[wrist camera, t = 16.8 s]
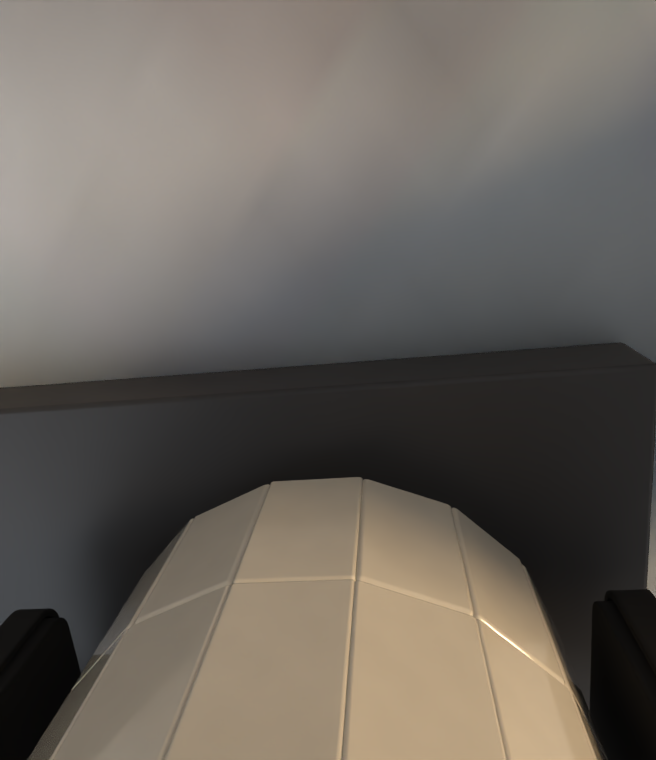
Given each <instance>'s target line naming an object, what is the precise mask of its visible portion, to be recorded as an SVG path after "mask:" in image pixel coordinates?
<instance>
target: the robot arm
mask: <svg viewBox="0 0 656 760" xmlns="http://www.w3.org/2000/svg"><path fill="white" fill-rule="evenodd" d="M80 675H81V671H80V667H79V663H78V659H77V655H76V652H75V648H74V644H73V640H72V636H71V632H70V629H69V625H68V622H67V621H66V619H65V618H61V617H59V615H58V613H57V612H56V611H55V610H54V609H50V608H48V609H19V610H16V611H14V612H13V613H12V614H11V615H9V617H8V618H7V619H6V620H5V621H4V622H3V623H2V625H1V626H0V760H28V758H29V756H30V755H31V753H32V752H33V750H34V748H35V747H36V745H37V744H38V742H39V740H40V739H41V737H42V736H43V734H44V732H45V731H46V729H47V728H48V726H49V724H50V723H51V721H52V720H53V718H54V716H55V715H56V713H57V712H58V710H59V708H60V707H61V705H62V704H63V702H64V700H65V699H66V697H67V696H68V694H69V693H70V692H71V690H72V688H73V686H74V684H75V683H76V681H77V680H78V678H79V676H80ZM589 711H590V714H591V716H592V719H593V721H594V724H595V726H596V729H597V731H598V734H599V736H600V739H601V742H602V744H603V747H604V749H605V752H606V754H607V757H608V759H609V760H656V598H655V597H654V595H653V594H652V593H651V592H650V591H649V590H647V589H636V590H608V591H607V592H606V594H605V597H604V601H595V602H594V603H593V607H592V635H591V673H590V710H589Z"/></svg>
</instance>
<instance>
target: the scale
mask: <svg viewBox="0 0 656 760" xmlns="http://www.w3.org/2000/svg"><path fill="white" fill-rule="evenodd" d="M655 426H656V364H655V363H654V362H652V361H651V360H649V359H647V358H646V357H644V356H643V355H641V354H640V353H638V352H636V351H635V350H633V349H632V348H630V347H629V346H627V345H626V344H623V343H611V344H597V345H583V346H570V347H556V348H542V349H529V350H515V351H501V352H488V353H474V354H460V355H447V356H433V357H419V358H406V359H392V360H378V361H365V362H351V363H337V364H324V365H310V366H296V367H283V368H269V369H255V370H241V371H228V372H214V373H200V374H187V375H173V376H159V377H146V378H132V379H118V380H105V381H91V382H77V383H64V384H50V385H36V386H23V387H9V388H0V626H1V625H2V623H3V622H4V621H5V620H6V619H7V618H8V617H9V615H11V614H12V613H13V612H14V611H16V610H19V609H48V608H50V609H54V610H55V611H56V612H57V613H58V615H59V617H61V618H65V619H66V621H67V622H68V625H69V629H70V632H71V636H72V640H73V644H74V648H75V652H76V655H77V659H78V663H79V667H80V671H81V673H82V672H83V670H84V668H85V667H86V665H87V664H88V662H89V660H90V659H91V657H92V656H93V654H94V652H95V651H96V649H97V648H98V646H99V644H100V643H101V641H102V640H103V638H104V636H105V635H106V633H107V632H108V630H109V629H110V627H111V625H112V624H113V622H114V621H115V619H116V617H117V616H118V614H119V613H120V611H121V609H122V608H123V606H124V605H125V603H126V601H127V600H128V598H129V597H130V595H131V593H132V592H133V590H134V589H135V587H136V585H137V584H138V582H139V581H140V579H141V577H142V576H143V574H144V573H145V571H146V570H147V569H148V568H149V567H150V566H151V565H152V563H153V562H154V561H155V560H156V559H157V558H158V556H159V555H160V554H161V553H162V552H163V551H164V549H165V548H166V547H167V546H168V545H169V544H170V542H171V541H172V540H173V539H174V538H175V537H176V535H177V534H178V533H179V532H180V531H181V530H182V529H183V527H184V526H185V525H186V524H187V523H188V522H189V520H191V519H194V518H195V517H196V516H198V515H200V514H202V513H204V512H207V511H209V510H211V509H213V508H215V507H217V506H220V505H222V504H224V503H226V502H228V501H231V500H233V499H235V498H237V497H239V496H241V495H244V494H246V493H248V492H250V491H252V490H254V489H257V488H259V487H261V486H263V485H266V484H271V482H273V481H291V480H310V479H329V478H348V477H362V479H363V480H364V479H369V480H372V481H375V482H379V483H382V484H385V485H388V486H391V487H395V488H398V489H401V490H404V491H407V492H410V493H414V494H417V495H420V496H423V497H426V498H430V499H433V500H436V501H439V502H442V503H445V504H448V505H449V506H451V508H453V507H454V508H456V509H458V510H459V511H460V512H462V513H463V514H464V515H465V516H467V517H468V518H469V519H470V520H472V521H473V522H474V523H475V524H476V525H478V526H479V527H480V528H481V529H483V530H484V531H485V532H486V533H488V534H489V535H490V536H491V537H493V538H494V539H495V540H496V541H498V542H499V543H500V544H501V545H503V546H504V547H505V548H506V549H508V550H509V551H510V552H511V553H513V554H514V555H515V556H516V557H518V558H519V559H520V561H521V564H522V565H524V566H525V567H526V569H527V571H528V573H529V575H530V577H531V579H532V581H533V583H534V585H535V587H536V588H537V590H538V592H539V594H540V596H541V598H542V600H543V602H544V604H545V606H546V608H547V610H548V612H549V614H550V616H551V618H552V620H553V622H554V624H555V626H556V628H557V630H558V632H559V635H560V637H561V640H562V643H563V645H564V648H565V650H566V653H567V655H568V658H569V660H570V663H571V665H572V668H573V670H574V673H575V676H576V678H577V681H578V683H579V686H580V688H581V691H582V693H583V696H584V698H585V701H586V703H587V706H588V709H589V710H590V673H591V635H592V607H593V603H594V602H595V601H604V597H605V594H606V592H607V591H608V590H636V589H647V572H648V554H649V535H650V517H651V499H652V481H653V462H654V444H655Z"/></svg>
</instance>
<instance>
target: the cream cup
mask: <svg viewBox="0 0 656 760" xmlns="http://www.w3.org/2000/svg"><path fill="white" fill-rule="evenodd" d="M28 760H609V759H608V757H607V754H606V752H605V749H604V747H603V744H602V742H601V739H600V736H599V734H598V731H597V729H596V726H595V724H594V721H593V719H592V716H591V714H590V711H589V709H588V706H587V703H586V701H585V698H584V696H583V693H582V691H581V688H580V686H579V683H578V681H577V678H576V676H575V673H574V670H573V668H572V665H571V663H570V660H569V658H568V655H567V653H566V650H565V648H564V645H563V643H562V640H561V637H560V635H559V632H558V630H557V628H556V626H555V624H554V622H553V620H552V618H551V616H550V614H549V612H548V610H547V608H546V606H545V604H544V602H543V600H542V598H541V596H540V594H539V592H538V590H537V588H536V587H535V585H534V583H533V581H532V579H531V577H530V575H529V573H528V571H527V569H526V567H525V566H524V565H522V564H521V561H520V559H519V558H518V557H516V556H515V555H514V554H513V553H511V552H510V551H509V550H508V549H506V548H505V547H504V546H503V545H501V544H500V543H499V542H498V541H496V540H495V539H494V538H493V537H491V536H490V535H489V534H488V533H486V532H485V531H484V530H483V529H481V528H480V527H479V526H478V525H476V524H475V523H474V522H473V521H472V520H470V519H469V518H468V517H467V516H465V515H464V514H463V513H462V512H460V511H459V510H458V509H456V508H454V507H453V508H451V506H449V505H448V504H445V503H442V502H439V501H436V500H433V499H430V498H426V497H423V496H420V495H417V494H414V493H410V492H407V491H404V490H401V489H398V488H395V487H391V486H388V485H385V484H382V483H379V482H375V481H372V480H369V479H364V480H363V479H362V477H348V478H329V479H310V480H291V481H273V482H271V484H266V485H263V486H261V487H259V488H257V489H254V490H252V491H250V492H248V493H246V494H244V495H241V496H239V497H237V498H235V499H233V500H231V501H228V502H226V503H224V504H222V505H220V506H217V507H215V508H213V509H211V510H209V511H207V512H204V513H202V514H200V515H198V516H196V517H195V518H194V519H191V520H189V522H188V523H187V524H186V525H185V526H184V527H183V529H182V530H181V531H180V532H179V533H178V534H177V535H176V537H175V538H174V539H173V540H172V541H171V542H170V544H169V545H168V546H167V547H166V548H165V549H164V551H163V552H162V553H161V554H160V555H159V556H158V558H157V559H156V560H155V561H154V562H153V563H152V565H151V566H150V567H149V568H148V569H147V570H146V571H145V573H144V574H143V576H142V577H141V579H140V581H139V582H138V584H137V585H136V587H135V589H134V590H133V592H132V593H131V595H130V597H129V598H128V600H127V601H126V603H125V605H124V606H123V608H122V609H121V611H120V613H119V614H118V616H117V617H116V619H115V621H114V622H113V624H112V625H111V627H110V629H109V630H108V632H107V633H106V635H105V636H104V638H103V640H102V641H101V643H100V644H99V646H98V648H97V649H96V651H95V652H94V654H93V656H92V657H91V659H90V660H89V662H88V664H87V665H86V667H85V668H84V670H83V672H82V673H81V675H80V676H79V678H78V680H77V681H76V683H75V684H74V686H73V688H72V690H71V692H70V693H69V694H68V696H67V697H66V699H65V700H64V702H63V704H62V705H61V707H60V708H59V710H58V712H57V713H56V715H55V716H54V718H53V720H52V721H51V723H50V724H49V726H48V728H47V729H46V731H45V732H44V734H43V736H42V737H41V739H40V740H39V742H38V744H37V745H36V747H35V748H34V750H33V752H32V753H31V755H30V756H29V758H28Z"/></svg>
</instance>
